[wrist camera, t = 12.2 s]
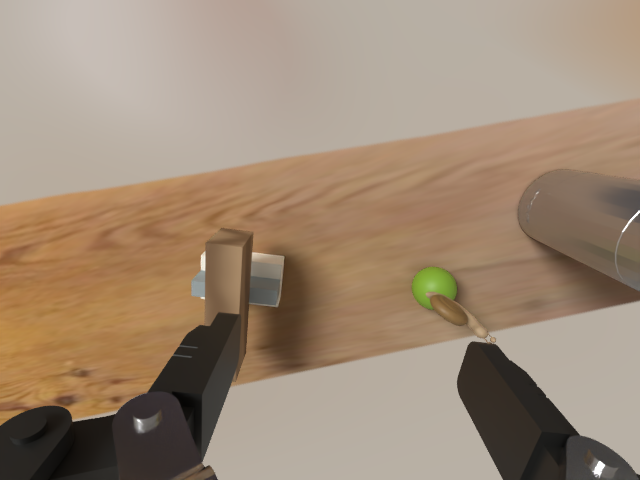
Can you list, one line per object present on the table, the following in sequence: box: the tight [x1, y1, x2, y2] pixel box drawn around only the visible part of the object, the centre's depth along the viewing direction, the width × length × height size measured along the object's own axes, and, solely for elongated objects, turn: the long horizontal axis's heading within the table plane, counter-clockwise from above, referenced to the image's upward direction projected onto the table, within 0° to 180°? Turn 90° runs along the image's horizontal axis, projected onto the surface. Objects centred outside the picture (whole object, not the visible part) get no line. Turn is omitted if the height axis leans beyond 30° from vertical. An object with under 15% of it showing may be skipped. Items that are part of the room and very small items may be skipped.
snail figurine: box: [412, 267, 496, 344], centre depth 38 cm, size 5×6×12 cm
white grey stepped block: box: [192, 252, 285, 307], centre depth 40 cm, size 10×6×6 cm, turn 83°
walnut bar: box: [205, 228, 253, 382], centre depth 35 cm, size 4×16×5 cm, turn 173°
